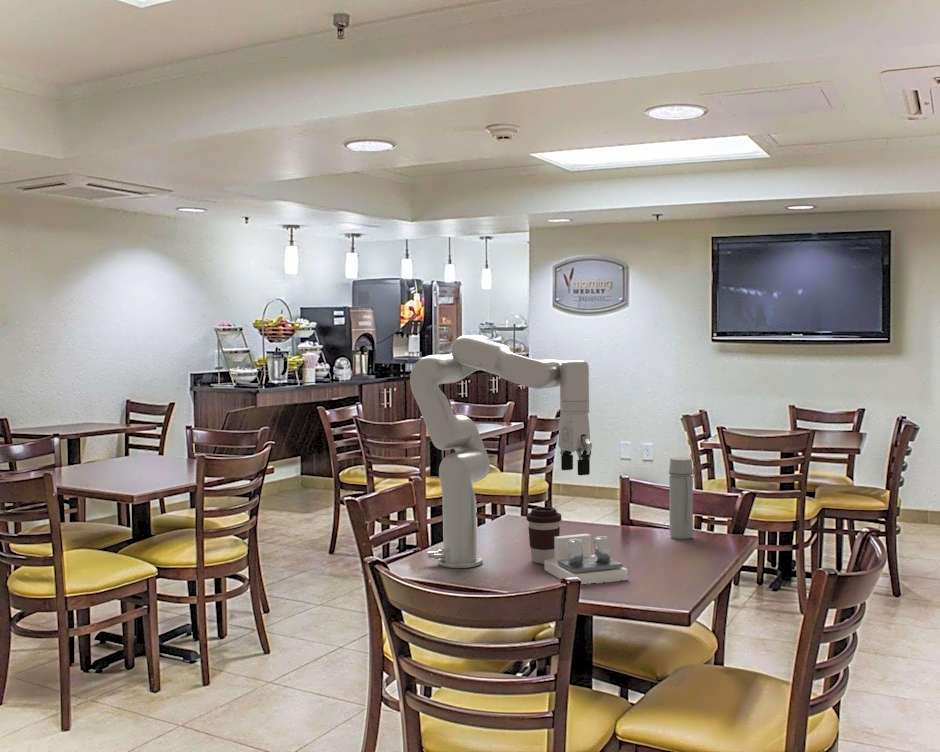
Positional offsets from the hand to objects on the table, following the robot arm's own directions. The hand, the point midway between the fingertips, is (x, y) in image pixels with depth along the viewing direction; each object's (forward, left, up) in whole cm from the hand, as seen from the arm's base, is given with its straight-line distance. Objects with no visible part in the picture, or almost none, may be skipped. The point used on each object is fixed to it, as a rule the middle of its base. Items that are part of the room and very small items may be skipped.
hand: (575, 472), depth 239 cm
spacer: (0, 0, -24) cm, 24 cm away
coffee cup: (0, +21, -28) cm, 35 cm away
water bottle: (+52, +31, -28) cm, 67 cm away
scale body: (+4, +3, -28) cm, 29 cm away
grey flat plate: (+4, 0, -25) cm, 26 cm away
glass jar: (+8, 0, -24) cm, 25 cm away
